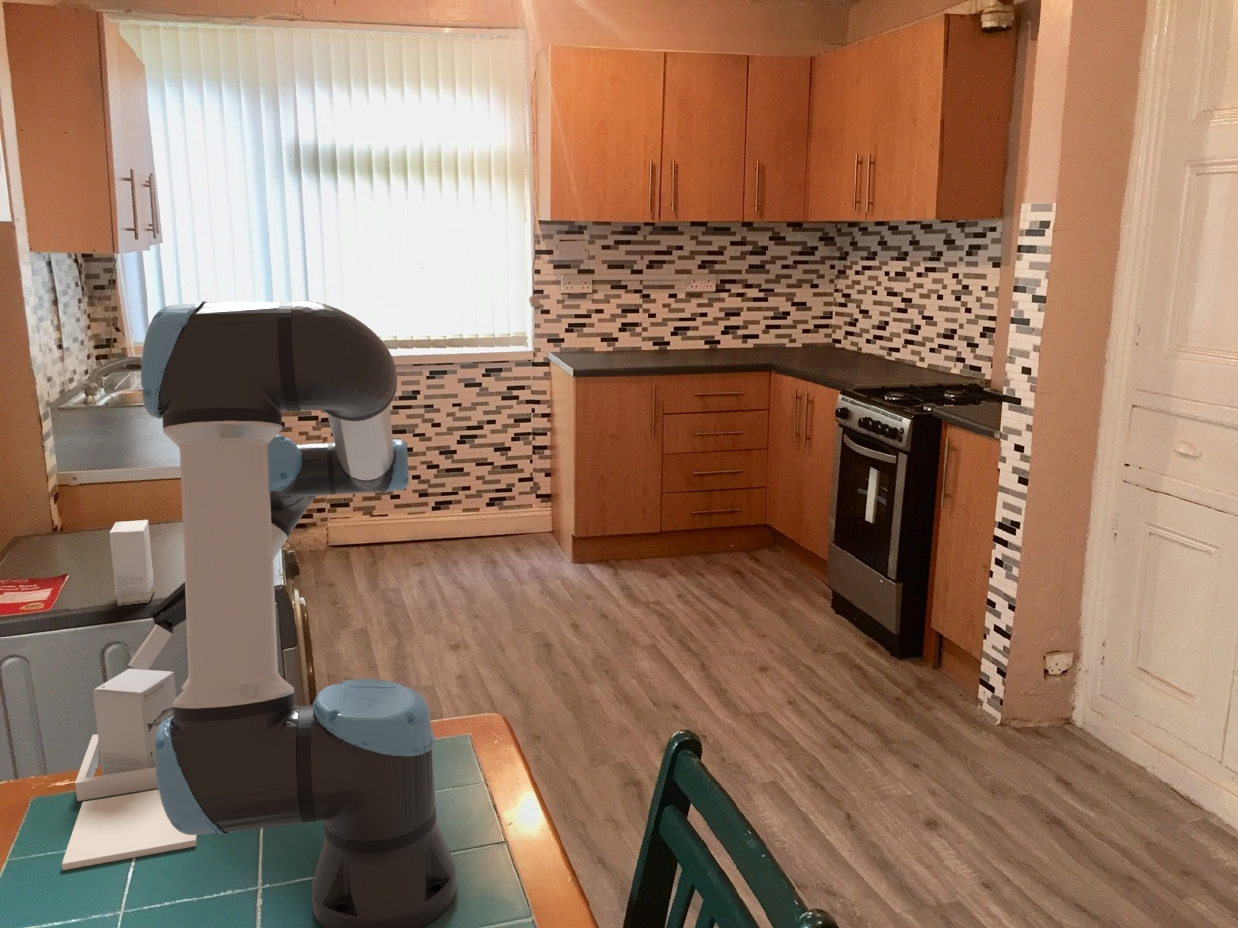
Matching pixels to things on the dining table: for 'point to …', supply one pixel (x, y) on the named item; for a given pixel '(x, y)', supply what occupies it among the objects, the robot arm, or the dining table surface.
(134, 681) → the supplement box
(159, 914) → the dining table surface
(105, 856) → the cream coaster
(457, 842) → the dining table surface
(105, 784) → the white square frame
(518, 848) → the dining table surface
